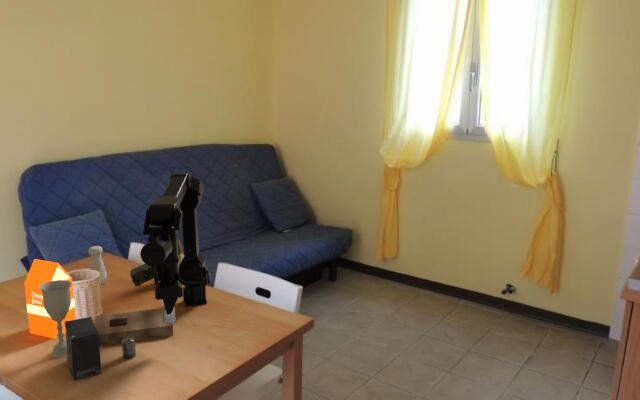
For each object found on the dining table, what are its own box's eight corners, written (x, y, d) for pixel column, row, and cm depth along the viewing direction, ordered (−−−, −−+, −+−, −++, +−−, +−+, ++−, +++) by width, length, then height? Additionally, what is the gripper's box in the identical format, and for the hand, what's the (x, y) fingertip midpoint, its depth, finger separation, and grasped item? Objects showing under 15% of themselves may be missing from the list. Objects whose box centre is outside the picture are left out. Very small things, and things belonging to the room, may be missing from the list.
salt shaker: (110, 280, 174) (108, 244, 171) (102, 286, 168) (99, 249, 166) (94, 279, 175) (91, 243, 172) (85, 285, 169) (82, 249, 166)
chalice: (84, 348, 129) (78, 282, 125) (62, 361, 122) (55, 292, 118) (61, 343, 131) (55, 278, 127) (39, 356, 125) (32, 288, 121)
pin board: (170, 316, 147) (170, 307, 147) (173, 335, 136) (172, 325, 136) (96, 325, 141) (95, 316, 140) (92, 346, 130) (92, 335, 129)
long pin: (174, 317, 130) (173, 284, 128) (175, 322, 127) (174, 289, 125) (162, 319, 129) (161, 286, 127) (163, 324, 126) (161, 290, 124)
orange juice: (52, 321, 143) (46, 254, 139) (77, 326, 140) (70, 258, 136) (29, 333, 136) (21, 263, 132) (54, 339, 133) (46, 267, 129)
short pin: (135, 352, 127) (134, 336, 126) (135, 358, 124) (134, 341, 124) (123, 354, 126) (121, 337, 125) (122, 360, 123) (121, 343, 123)
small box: (103, 373, 118) (100, 332, 115) (72, 381, 114) (68, 339, 112) (95, 353, 126) (92, 315, 124) (66, 360, 123) (62, 321, 121)
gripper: (131, 244, 130) (135, 300, 133) (130, 268, 113) (134, 332, 116) (176, 241, 134) (178, 296, 137) (181, 263, 116) (184, 325, 120)
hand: (168, 311), depth 127 cm, fingers closed on long pin, 3 cm apart
